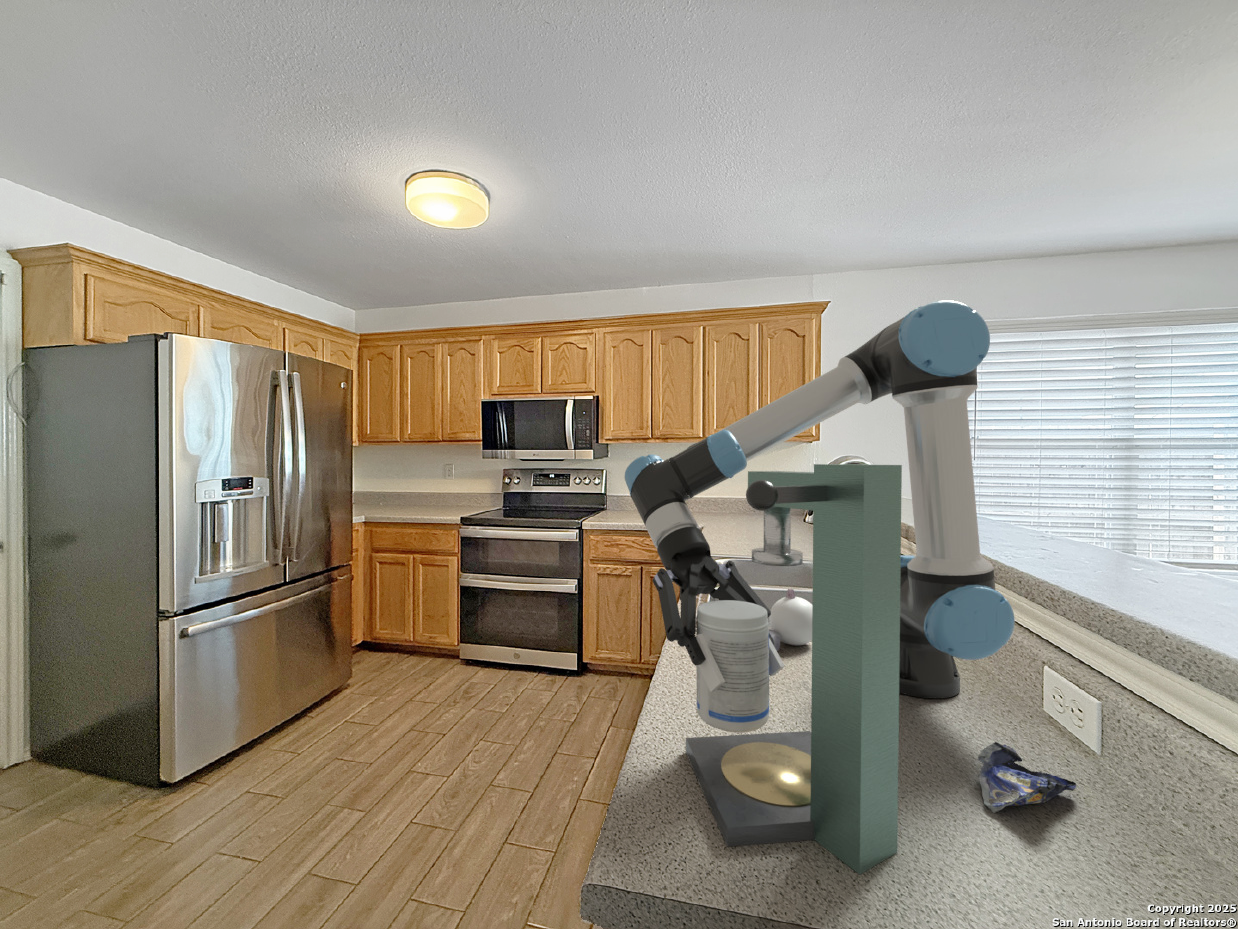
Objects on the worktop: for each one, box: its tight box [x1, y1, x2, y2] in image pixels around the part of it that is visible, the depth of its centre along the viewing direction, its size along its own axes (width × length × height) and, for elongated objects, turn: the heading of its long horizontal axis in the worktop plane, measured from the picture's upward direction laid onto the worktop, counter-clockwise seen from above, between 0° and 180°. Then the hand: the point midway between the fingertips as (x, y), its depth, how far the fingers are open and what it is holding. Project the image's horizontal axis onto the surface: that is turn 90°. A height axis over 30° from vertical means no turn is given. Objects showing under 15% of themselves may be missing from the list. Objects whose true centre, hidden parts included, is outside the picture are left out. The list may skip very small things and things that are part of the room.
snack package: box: [977, 741, 1077, 814], centre depth 65 cm, size 12×7×12 cm
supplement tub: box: [695, 599, 770, 733], centre depth 72 cm, size 10×10×15 cm
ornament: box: [768, 588, 812, 646], centre depth 117 cm, size 10×10×12 cm
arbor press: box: [685, 463, 903, 875], centre depth 63 cm, size 18×23×40 cm
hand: (748, 678), depth 69 cm, fingers closed on supplement tub, 9 cm apart
